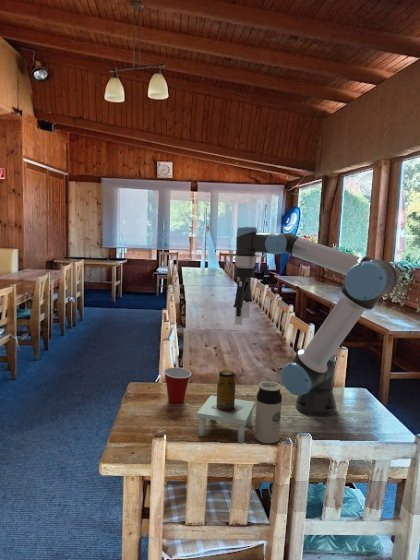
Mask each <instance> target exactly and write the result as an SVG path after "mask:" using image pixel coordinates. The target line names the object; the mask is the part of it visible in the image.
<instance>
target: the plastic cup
mask: <svg viewBox="0 0 420 560" xmlns="http://www.w3.org/2000/svg"><path fill="white" fill-rule="evenodd" d="M163 374H164V377H165V385H166V390H167V399H168V402H169V403H171V404H173V405H174V404H175V405H177V404H178V405H179V404H182V403H184V401H185V396H186V392H187V388H188V382H190V377H191V376H192V372H191V371H190V370H188V369H186V368H183V367H174V366H173V367H168V368H167V367H166V368H165V369H164V370H163Z"/></svg>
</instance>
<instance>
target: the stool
mask: <svg viewBox="0 0 420 560" xmlns="http://www.w3.org/2000/svg"><path fill="white" fill-rule="evenodd" d="M216 404H217V395H210V396H209V397H208V398H207V400H206V401H205V402H204V403H203V405H202V406H201V407H200V408H199V410H198V411H197V415H196V417H197V418H199V424H198V425H199V426H198V429H199V432H198V436H199V437H205V436H206V426H207V425H206V422H207V420H210V421H218V422H224V423H230V424H236V425H238V430H237V431H238V432H237V443H238V444H244V443H245V429H246V427H252V424H253V411H254V408H255V407H256V402H255V401H251V400H250V401H249V400H243V399H237V398H235V403H234V404H235V405H239V406H242V407H243V408H242V409H240V410H238V411H237V412H235V413H233V414H232V413H228V412H225V411H222V410H218V409H215V408H212V406H214V405H216Z"/></svg>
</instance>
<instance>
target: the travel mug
mask: <svg viewBox="0 0 420 560" xmlns="http://www.w3.org/2000/svg"><path fill="white" fill-rule="evenodd" d="M282 386H283V385H281V384H280V383H278V382H275V381H261V382H259V383H258V389H259V390H258V391H257V393H256V403H255V407H256V409H255V426H254V438H255V439H256V440H257V441H259V442H261V443H264V444H273V443H277V442H279V440H280V432H281V430H280V429H281V414H282V401H283V400H282V399H283V396H282V394H281V389H282Z"/></svg>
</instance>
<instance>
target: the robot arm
mask: <svg viewBox="0 0 420 560" xmlns="http://www.w3.org/2000/svg"><path fill="white" fill-rule="evenodd" d="M235 239H236V241H235V242H236V243H235V245H236V246H235V247H236V251H235V257H234V258H233V259H234V261H235V266H236V267H235V268H234V276H235V277H236V278H239V280H237V283H236V292H235V298H234V299H235V300H234V304H233V306H232V307H233V308H235V310H234V311H235V313H234V314H235V315H234V325H237V326H243V318H244V319H250V308H251V307H250V306H251V302H253V299H252V287H251V286H252V285H251V283H252V282H251V279H253V278H255V272H256V270H255V266H256V253H262V254H269V255H281V254H287V255H289V256H292V257H295V258H298V259H301V260H304V261H306V262H309V263H311V264H315V265H318V266H320V267H322V268H326V269H328V270H331V271H334V272H336V273H338V274H342V275H345V277H344V284H343V285H342V287H340V294H341V296H340V298H339V300H337V302H336V304H335V305H334V307H333V308H332V310H331V311H330V312H329V314H328V315H327V317H326V318H325V320H324V321H323V323H322V324H321V325H320V327H319V328H318V330H317V331H316V333H315V334H314V335H313V337H312V339H310V341H309V343H308V344H307V345H306V347H305V348H300V349H299V350H298V351H297V353H296V354H295V356H294V357H293V359H292V360H291V361H290V362H288V363H286V364H284V366H283V367H282V369H281V370H280V379H281V382H282V386H283V387H284V388H285V389H286V390H287V391H288V392H289V393H290V394H292V395H295V396H297V397H296V399H295V408H296V409H297V410H298V411H299V412H300V413H303V414H306V415H310V416H314V417H329V416H333V415H334V414H336V412H337V403H336V400H335V395H334V391H333V390H334V378H335V366H336V355H335V352H336V351H337V350H338V348H339V347H340V345H341V344H342V343H343V341H344V340H345V339H346V337H347V336H348V335H349V333H350V332H351V330H352V328H354V326H355V324H357V322H359V319H361V317H362V315H363V314H364V312H365V311H366V312H367V311H372V310H373V309H374V308H375V306H376V305H377V303H378V301H379V300H380V299H381V297H382V296H384V295H388V294H389V293H391V292H392V291H393V290H394V289H395V288H396V286H397V284H398V277H399V276H398V272H397V269H396V268H395V267H394V265H392V264H391V263H390V262H388V261H386V260H383V259H382V260H381V259H376V258H372V257H369V256H363V257H361V256H357V255H354V254H351V253H348V252H346V251H342V250H339V249H336V248H333V247H329V246H327V245H324V244H321V243H318V242H315V241H312V240H309V239H306V238H303V237H299V236H298V235H297V234H295V233H291V232H286V233H285V232H283V233H282V232H280V233H279V232H260V231H259V232H258V229H257V227H256V226H241V225H240V226H238V227H237V230H236V238H235Z"/></svg>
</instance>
